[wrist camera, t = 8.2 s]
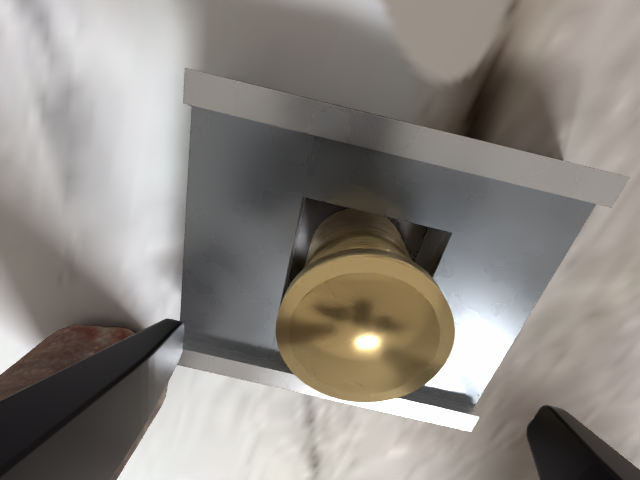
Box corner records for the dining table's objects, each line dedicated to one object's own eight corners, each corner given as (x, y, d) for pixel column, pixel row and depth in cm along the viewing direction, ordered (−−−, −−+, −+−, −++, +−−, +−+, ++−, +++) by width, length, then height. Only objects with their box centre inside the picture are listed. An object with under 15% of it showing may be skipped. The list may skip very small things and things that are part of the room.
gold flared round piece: (428, 214, 14) (486, 284, 8) (392, 309, 16) (418, 417, 10) (314, 187, 14) (293, 238, 8) (292, 286, 16) (263, 382, 10)
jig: (564, 162, 12) (630, 177, 10) (449, 378, 17) (470, 431, 14) (222, 78, 12) (184, 67, 9) (201, 320, 17) (171, 363, 14)
